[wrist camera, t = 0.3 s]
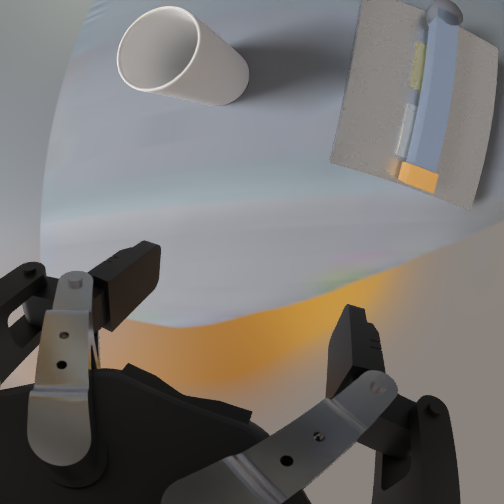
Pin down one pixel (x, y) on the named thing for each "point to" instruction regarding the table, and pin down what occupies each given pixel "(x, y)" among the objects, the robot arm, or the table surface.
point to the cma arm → (433, 96)
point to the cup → (181, 58)
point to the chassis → (413, 101)
